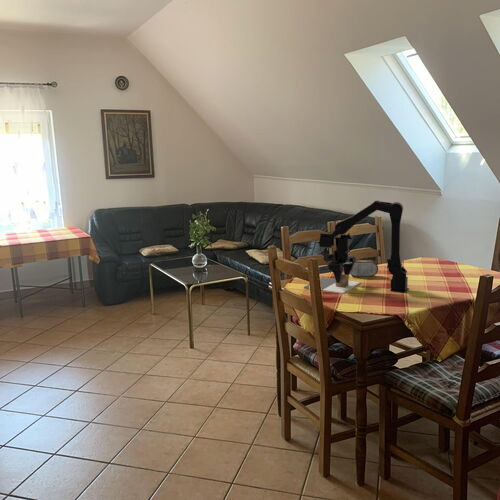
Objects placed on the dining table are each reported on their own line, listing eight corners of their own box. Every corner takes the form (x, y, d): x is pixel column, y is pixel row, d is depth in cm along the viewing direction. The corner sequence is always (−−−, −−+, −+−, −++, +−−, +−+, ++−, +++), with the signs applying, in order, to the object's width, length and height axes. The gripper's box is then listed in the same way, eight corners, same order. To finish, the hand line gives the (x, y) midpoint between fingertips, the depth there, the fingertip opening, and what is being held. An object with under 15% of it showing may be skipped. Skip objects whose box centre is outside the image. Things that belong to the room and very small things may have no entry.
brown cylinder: (348, 285, 236) (348, 274, 235) (344, 287, 232) (344, 277, 231) (339, 284, 238) (339, 273, 237) (335, 286, 234) (335, 276, 234)
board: (360, 283, 240) (360, 282, 240) (343, 293, 224) (343, 292, 224) (322, 278, 252) (322, 277, 252) (303, 288, 236) (303, 286, 236)
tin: (377, 275, 254) (377, 259, 252) (378, 277, 251) (378, 260, 249) (347, 275, 255) (347, 259, 254) (348, 277, 252) (348, 261, 251)
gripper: (334, 243, 244) (334, 274, 247) (317, 250, 229) (317, 283, 232) (356, 245, 237) (356, 276, 240) (339, 252, 222) (339, 286, 225)
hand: (342, 280), depth 235 cm, fingers open, 9 cm apart
